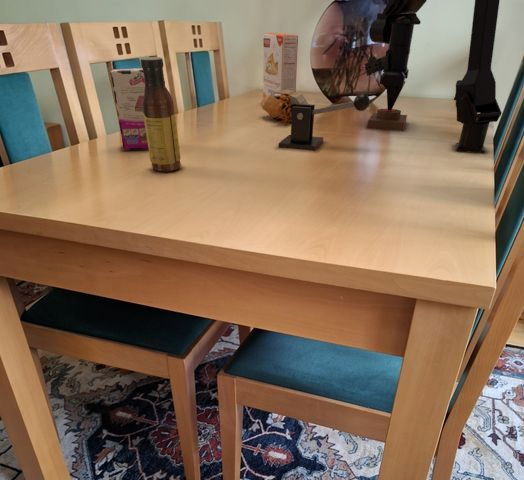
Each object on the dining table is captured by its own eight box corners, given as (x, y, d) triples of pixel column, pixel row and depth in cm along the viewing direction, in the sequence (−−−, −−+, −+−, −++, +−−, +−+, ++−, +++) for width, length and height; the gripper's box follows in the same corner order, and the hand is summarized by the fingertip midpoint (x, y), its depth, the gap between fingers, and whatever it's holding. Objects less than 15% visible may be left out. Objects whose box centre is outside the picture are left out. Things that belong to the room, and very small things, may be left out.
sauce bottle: (167, 163, 101) (156, 55, 89) (187, 168, 97) (178, 57, 85) (144, 169, 96) (128, 57, 85) (163, 175, 93) (150, 59, 81)
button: (394, 118, 132) (395, 111, 131) (381, 117, 132) (382, 110, 131) (395, 115, 134) (396, 109, 133) (382, 115, 135) (383, 108, 134)
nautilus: (301, 131, 130) (249, 131, 133) (312, 112, 146) (266, 113, 149) (301, 100, 125) (247, 100, 128) (312, 84, 141) (265, 85, 144)
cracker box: (262, 104, 164) (262, 32, 151) (277, 103, 166) (279, 32, 153) (279, 110, 153) (281, 34, 141) (295, 109, 155) (299, 34, 143)
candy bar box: (168, 143, 115) (160, 67, 105) (170, 148, 111) (162, 69, 101) (122, 146, 112) (109, 67, 102) (123, 151, 108) (109, 70, 99)
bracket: (323, 142, 117) (326, 103, 112) (314, 151, 110) (317, 110, 104) (289, 139, 120) (290, 101, 114) (278, 148, 112) (279, 108, 107)
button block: (403, 131, 129) (405, 115, 127) (367, 128, 131) (369, 113, 129) (405, 123, 138) (408, 108, 136) (372, 120, 141) (374, 106, 138)
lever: (371, 108, 107) (369, 90, 105) (369, 110, 104) (367, 93, 102) (300, 122, 113) (298, 105, 111) (296, 124, 111) (294, 108, 109)
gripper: (373, 42, 132) (365, 103, 141) (364, 46, 118) (356, 113, 127) (413, 43, 129) (402, 105, 139) (409, 47, 115) (397, 116, 124)
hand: (389, 109), depth 132 cm, fingers closed, pressing on button
